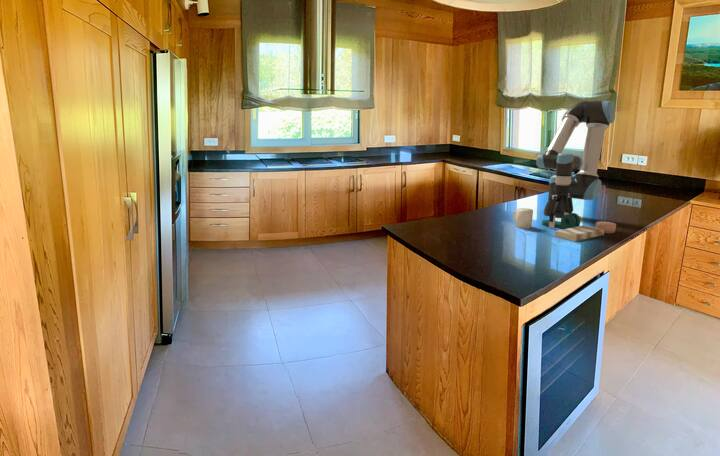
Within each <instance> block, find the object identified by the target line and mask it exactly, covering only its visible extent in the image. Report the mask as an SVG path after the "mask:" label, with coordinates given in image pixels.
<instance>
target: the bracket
mask: <svg viewBox="0 0 720 456" xmlns="http://www.w3.org/2000/svg"><path fill="white" fill-rule="evenodd" d="M560 218H561V219H560V221H558V220H555V226H554V228H553V229H558V230H563V229H568V228H573V227H578V226H581V225H580V224H581V218H580V216H579V214H577V213H575V212H572V213H571V214H567V215H564V216H563V217H560ZM541 222H542V223H541V225H542V226H544V227H548V228H549V219H543V220H542V221H541Z"/></svg>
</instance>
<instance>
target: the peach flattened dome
mask: <svg viewBox="0 0 720 456" xmlns="http://www.w3.org/2000/svg"><path fill="white" fill-rule="evenodd" d="M616 227H617V224H616V223H615V222H611V221H596V222H595V228H599V229H603V230H604V234H615V233H616Z"/></svg>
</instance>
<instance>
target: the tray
mask: <svg viewBox="0 0 720 456" xmlns="http://www.w3.org/2000/svg"><path fill="white" fill-rule="evenodd" d="M604 235H605V233H604V230H603V229H599V228H596V226H590V225H580V226H578V227H573V228H568V229H558V230H555V232H554V237H556V238H561V239H565V240H569V241H573V242H578V241H583V240H587V239H592V238H596V237H601V236H604Z"/></svg>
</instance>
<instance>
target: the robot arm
mask: <svg viewBox="0 0 720 456" xmlns="http://www.w3.org/2000/svg"><path fill="white" fill-rule="evenodd" d="M615 119H616V108H615V104H614V103H613V102H612V101H610V100H582V101H579V102H577V103H575V104H573V105H571V107H569V108H568V109H567V110H566V111H565V112H564V114H563V116H562V117H561V123H560V125H559V128H558V129H557V131H556V133H555V134H554V136H553V138H552V140H551V141H550V144H549V146H548V147H547V148H546V151H545V152H544V153H540V154H538V155H537V158H536V161H535V164H536V166H537V167H538V169H539V168H540V169H545V170H546V169H547V170H548V169H549V170H555V174H554V175H551V176H550V178H549V183H548V192H547V193H548V195H547V197H548V198H547V202H546V204H545V207H544V209H543V215H544V216H549V217H548V220H549V227H548V228H551V229H555V228H554V226H555V221H556V218H562V217H563V216H564V215H567V214H571V213H573V211H574V205H573V199H575V200H582V201H594V200H595V199H597V198H598V196H599V195H600V193H601V190H602V180H601V179H599V178H600V176H599V175H598V168H599V163H600V159H601V152H602V147H603V142H604V137H605V132H606V130H607V129H609V127H610V124H612V123H614V122H615ZM581 123H584V124H585V126H586V127H587V131H586V137H585V138H586V139H585V141H584V142H585V143H584V147H583V153H582V157H581V156H579V155H574V154H573V153H570V152H564V149H565V147H566V145H567V144H568V142H569V140H570V138H571V136H572V134H573V133H574V131H575V128H577V127H578V126H579V125H580V124H581ZM577 170H579V171H578V172H577V173H576V174H575V177H573V172H574V171H577Z"/></svg>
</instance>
